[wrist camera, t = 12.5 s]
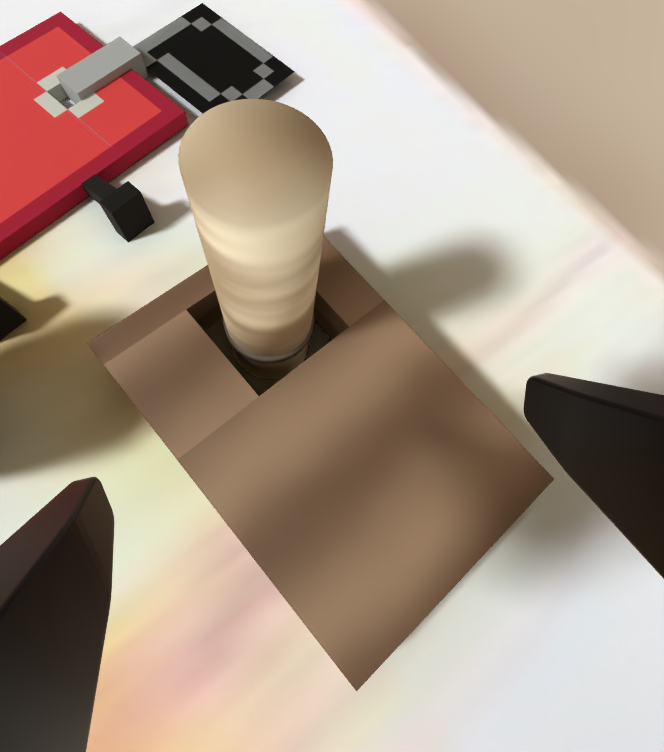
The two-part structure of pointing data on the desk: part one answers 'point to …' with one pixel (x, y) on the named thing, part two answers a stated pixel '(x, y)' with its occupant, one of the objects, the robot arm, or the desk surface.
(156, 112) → the red board with handle
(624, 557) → the desk surface
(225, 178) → the birch dowel
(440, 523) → the walnut board
